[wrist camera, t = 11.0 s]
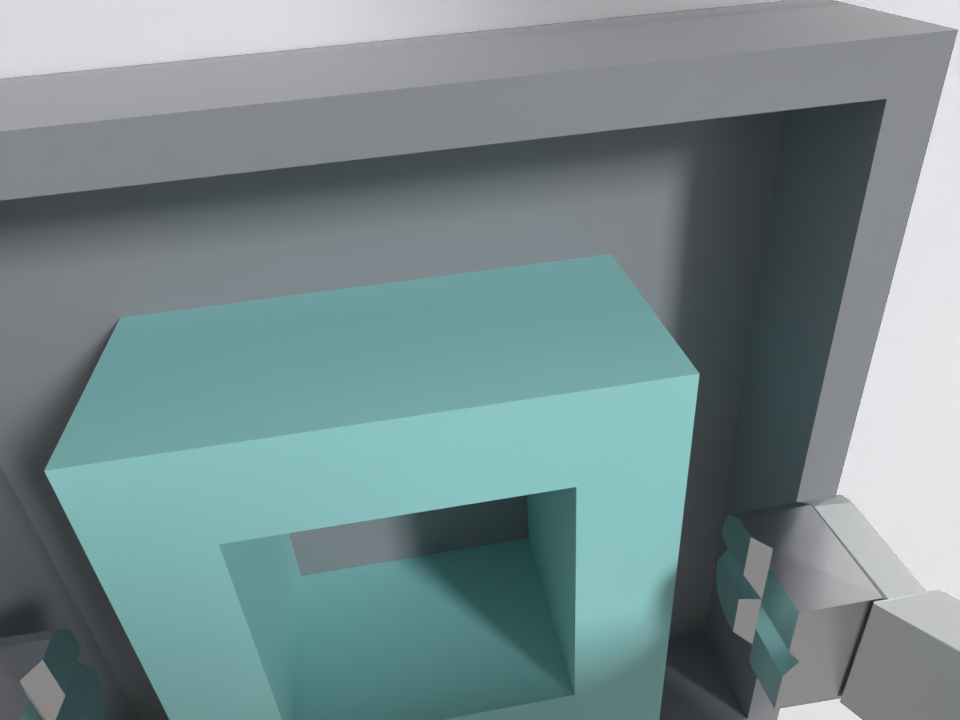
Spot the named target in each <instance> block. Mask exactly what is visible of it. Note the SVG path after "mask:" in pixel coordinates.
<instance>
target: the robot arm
mask: <svg viewBox="0 0 960 720" xmlns="http://www.w3.org/2000/svg"><path fill="white" fill-rule="evenodd" d="M721 536H722V538H723V540H724V542H725V543H726V545H727V547H728V549H727V550H726V551H725V552H724V553H723V555H722V556H721V557H720V558H719V559H718V560H717V568H716V578H715V579H716V585H717V591H718V598H719V601H720V604H721V607H722V609H723V612H724V615H725V617H726V619H727V621H728V623H729V625H730V627H731V629H732V631H733V632H734V633H736V634H737V635H739V636H740V637H742V638H743V639H745V640H746V641H748V642H750V643H751V644H752V649H751V654H750V659H749V663H750V665H751V667H752V668H753V670H754V672H755V674H756V676H757V678H758V680H759V681H760V683H761V685H762V687H763V689H764V691H765V693H766V695H767V696H768V698H769V700H770V702H771V704H772V706H773V708H774V709H779V708H785V707H791V706H797V705H803V704H809V703H815V702H821V701H827V700H833V699H839V698H841V701H840V702H841V703H842V704H843V705H845V706H846V707H847V708H848V709H850V710H851V711H852V712H854V713H855V714H856V715H857V716H859V717H860V718H861V719H862V720H960V601H959V600H957V599H956V598H954V597H952V596H950V595H948V594H946V593H944V592H942V591H940V590H935V591H928V592H927V591H926V589H925V588H924V587H923V586H922V585H921V584H920V582H919V581H918V580H917V579H916V578H915V576H914V575H913V574H912V573H911V572H910V571H909V569H908V568H907V567H906V566H905V565H904V563H903V562H902V561H901V560H900V559H899V557H898V556H897V555H896V554H895V553H894V552H893V550H892V549H891V548H890V547H889V546H888V544H887V543H886V542H885V541H884V540H883V538H882V537H881V536H880V535H879V534H878V533H877V531H876V530H875V529H874V528H873V527H872V525H871V524H870V523H869V522H868V521H867V519H866V518H865V517H864V516H863V515H862V514H861V512H860V511H859V510H858V509H857V508H856V506H855V505H854V504H853V503H852V502H851V501H850V500H849V499H847V498H846V497H844V496H842V495H837V496H831V497H826V498H820V499H814V500H808V501H803V502H794V503H789V504H783V505H778V506H772V507H767V508H761V509H756V510H751V511H745V512H740V513H734V514H729V515H728V516H727V518H726V519H725V521H724V523H723V529H722V534H721ZM80 649H81V645H80V644H79V642H78V640H77V639H76V637H75V636H74V634H73V633H72V631H71V630H70V629H58V630H51V631H44V632H37V633H30V634H23V635H16V636H9V637H3V638H0V720H105V702H106V700H105V695H104V691H103V687H102V683H101V681H100V679H99V677H98V675H97V673H96V671H95V670H94V669H92V668H90V667H88V666H86V665H84V664H82V663H80V662H78V661H77V658H78V655H79V652H80Z"/></svg>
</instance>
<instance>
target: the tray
mask: <svg viewBox="0 0 960 720" xmlns="http://www.w3.org/2000/svg"><path fill="white" fill-rule="evenodd" d="M957 31H958V30H957V29H953V28H948V27H944V26H940V25H936V24H932V23H927V22H923V21H919V20H915V19H911V18H906V17H902V16H898V15H894V14H890V13H885V12H881V11H877V10H873V9H869V8H864V7H860V6H856V5H852V4H848V3H843V2H839V1H835V0H788V1H778V2H768V3H758V4H748V5H738V6H728V7H718V8H708V9H698V10H688V11H678V12H668V13H658V14H648V15H638V16H628V17H618V18H608V19H598V20H587V21H577V22H567V23H557V24H547V25H537V26H527V27H517V28H507V29H497V30H487V31H477V32H467V33H457V34H447V35H437V36H427V37H417V38H407V39H397V40H387V41H377V42H367V43H357V44H347V45H337V46H326V47H316V48H306V49H296V50H286V51H276V52H266V53H256V54H246V55H236V56H226V57H216V58H206V59H196V60H186V61H176V62H166V63H156V64H146V65H136V66H126V67H116V68H106V69H96V70H86V71H75V72H65V73H55V74H45V75H35V76H25V77H15V78H5V79H0V638H3V637H9V636H16V635H23V634H30V633H37V632H44V631H51V630H58V629H70V630H71V631H72V633H73V634H74V636H75V637H76V639H77V640H78V642H79V644H80V645H81V649H80V652H79V655H78V658H77V661H78V662H80V663H82V664H84V665H86V666H88V667H90V668H92V669H94V670H95V671H96V673H97V675H98V677H99V679H100V681H101V683H102V687H103V691H104V695H105V700H106V702H105V720H169V718H168V716H167V714H166V712H165V710H164V708H163V706H162V704H161V702H160V700H159V698H158V696H157V694H156V692H155V690H154V688H153V686H152V684H151V682H150V680H149V678H148V676H147V674H146V672H145V670H144V668H143V666H142V664H141V662H140V660H139V658H138V656H137V654H136V652H135V650H134V648H133V646H132V644H131V642H130V640H129V638H128V636H127V634H126V632H125V630H124V628H123V626H122V625H121V623H120V621H119V619H118V617H117V615H116V613H115V611H114V609H113V607H112V605H111V603H110V601H109V599H108V597H107V595H106V593H105V591H104V589H103V587H102V585H101V583H100V581H99V579H98V577H97V575H96V573H95V571H94V569H93V567H92V565H91V563H90V561H89V559H88V557H87V555H86V553H85V551H84V549H83V547H82V545H81V543H80V541H79V539H78V537H77V535H76V533H75V531H74V529H73V527H72V525H71V523H70V521H69V519H68V517H67V515H66V513H65V511H64V509H63V507H62V505H61V503H60V501H59V499H58V497H57V495H56V493H55V491H54V489H53V487H52V485H51V483H50V481H49V480H48V478H47V476H46V474H45V472H44V470H45V468H46V466H47V464H48V462H49V460H50V458H51V456H52V454H53V452H54V450H55V448H56V446H57V444H58V442H59V440H60V438H61V436H62V434H63V432H64V430H65V428H66V426H67V424H68V422H69V420H70V418H71V416H72V414H73V412H74V410H75V408H76V406H77V404H78V402H79V400H80V398H81V396H82V394H83V392H84V389H85V387H86V385H87V383H88V381H89V379H90V377H91V375H92V373H93V371H94V369H95V367H96V365H97V363H98V361H99V359H100V357H101V355H102V353H103V351H104V349H105V347H106V345H107V343H108V341H109V339H110V337H111V335H112V333H113V331H114V329H115V327H116V325H117V323H118V321H119V319H120V318H122V317H130V316H137V315H145V314H153V313H161V312H168V311H176V310H184V309H191V308H199V307H207V306H214V305H222V304H230V303H238V302H245V301H253V300H261V299H268V298H276V297H284V296H291V295H299V294H307V293H315V292H322V291H330V290H338V289H345V288H353V287H361V286H368V285H376V284H384V283H392V282H399V281H407V280H415V279H422V278H430V277H438V276H445V275H453V274H461V273H469V272H476V271H484V270H492V269H499V268H507V267H515V266H522V265H530V264H538V263H546V262H553V261H561V260H569V259H576V258H584V257H592V256H600V255H607V254H612V256H613V257H614V259H615V260H616V261H617V263H618V264H619V265H620V267H621V268H622V269H623V271H624V272H625V273H626V275H627V276H628V277H629V279H630V280H631V282H632V283H633V284H634V286H635V287H636V288H637V290H638V291H639V292H640V294H641V295H642V296H643V298H644V299H645V301H646V302H647V303H648V305H649V306H650V307H651V309H652V310H653V311H654V313H655V314H656V315H657V317H658V318H659V319H660V321H661V322H662V324H663V325H664V326H665V328H666V329H667V330H668V332H669V333H670V334H671V336H672V337H673V338H674V340H675V341H676V343H677V344H678V345H679V347H680V348H681V349H682V351H683V352H684V353H685V355H686V356H687V357H688V359H689V360H690V361H691V363H692V364H693V366H694V367H695V368H696V370H697V371H698V372H699V383H698V392H697V400H696V409H695V417H694V426H693V435H692V443H691V452H690V460H689V469H688V478H687V486H686V495H685V503H684V512H683V521H682V529H681V538H680V546H679V555H678V564H677V572H676V581H675V589H674V598H673V607H672V615H671V624H670V632H669V641H668V650H667V658H666V667H665V675H664V684H663V693H662V701H661V710H660V718H659V720H777V718H778V714H779V710H780V708H779V709H774V708H773V706H772V704H771V702H770V700H769V698H768V696H767V695H766V693H765V691H764V689H763V687H762V685H761V683H760V681H759V680H758V678H757V676H756V674H755V672H754V670H753V668H752V667H751V665H750V663H749V659H750V654H751V649H752V644H751V643H750V642H748V641H746V640H745V639H743V638H742V637H740V636H739V635H737V634H736V633H734V632H733V631H732V629H731V627H730V625H729V623H728V621H727V619H726V617H725V615H724V612H723V609H722V607H721V604H720V601H719V598H718V591H717V585H716V579H715V578H716V568H717V560H718V559H719V558H720V557H721V556H722V555H723V553H724V552H725V551H726V550H727V549H728V547H727V545H726V543H725V542H724V540H723V538H722V536H721V534H722V529H723V523H724V521H725V519H726V518H727V516H728V515H729V514H734V513H740V512H745V511H751V510H756V509H761V508H767V507H772V506H778V505H783V504H789V503H794V502H803V501H808V500H814V499H820V498H826V497H831V496H836V493H837V489H838V485H839V481H840V477H841V474H842V470H843V466H844V462H845V458H846V454H847V451H848V447H849V443H850V439H851V435H852V432H853V428H854V424H855V420H856V416H857V412H858V409H859V405H860V401H861V397H862V393H863V390H864V386H865V382H866V378H867V374H868V371H869V367H870V363H871V359H872V355H873V351H874V348H875V344H876V340H877V336H878V332H879V329H880V325H881V321H882V317H883V313H884V309H885V306H886V302H887V298H888V294H889V290H890V287H891V283H892V279H893V275H894V271H895V268H896V264H897V260H898V256H899V252H900V248H901V245H902V241H903V237H904V233H905V229H906V226H907V222H908V218H909V214H910V210H911V206H912V203H913V199H914V195H915V191H916V187H917V184H918V180H919V176H920V172H921V168H922V164H923V161H924V157H925V153H926V149H927V145H928V142H929V138H930V134H931V130H932V126H933V123H934V119H935V115H936V111H937V107H938V103H939V100H940V96H941V92H942V88H943V84H944V81H945V77H946V73H947V69H948V65H949V61H950V58H951V54H952V50H953V46H954V42H955V39H956V35H957ZM289 536H290V539H291V543H292V546H293V550H294V553H295V557H296V560H297V564H298V567H299V571H300V574H301V576H305V575H311V574H317V573H323V572H329V571H335V570H341V569H347V568H353V567H359V566H365V565H371V564H377V563H383V562H389V561H395V560H401V559H407V558H413V557H419V556H425V555H431V554H437V553H443V552H449V551H455V550H461V549H467V548H473V547H479V546H485V545H491V544H497V543H503V542H509V541H515V540H521V539H527V538H529V531H528V506H527V495H523V496H517V497H511V498H505V499H498V500H492V501H486V502H480V503H474V504H467V505H461V506H455V507H449V508H443V509H436V510H430V511H424V512H418V513H411V514H405V515H399V516H393V517H387V518H380V519H374V520H368V521H362V522H356V523H349V524H343V525H337V526H331V527H325V528H318V529H312V530H306V531H300V532H293V533H289Z"/></svg>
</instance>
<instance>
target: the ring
mask: <svg viewBox="0 0 960 720" xmlns="http://www.w3.org/2000/svg"><path fill="white" fill-rule="evenodd" d="M698 383H699V372H698V371H697V370H696V368H695V367H694V366H693V364H692V363H691V361H690V360H689V359H688V357H687V356H686V355H685V353H684V352H683V351H682V349H681V348H680V347H679V345H678V344H677V343H676V341H675V340H674V338H673V337H672V336H671V334H670V333H669V332H668V330H667V329H666V328H665V326H664V325H663V324H662V322H661V321H660V319H659V318H658V317H657V315H656V314H655V313H654V311H653V310H652V309H651V307H650V306H649V305H648V303H647V302H646V301H645V299H644V298H643V296H642V295H641V294H640V292H639V291H638V290H637V288H636V287H635V286H634V284H633V283H632V282H631V280H630V279H629V277H628V276H627V275H626V273H625V272H624V271H623V269H622V268H621V267H620V265H619V264H618V263H617V261H616V260H615V259H614V257H613V256H612V254H607V255H600V256H592V257H584V258H576V259H569V260H561V261H553V262H546V263H538V264H530V265H522V266H515V267H507V268H499V269H492V270H484V271H476V272H469V273H461V274H453V275H445V276H438V277H430V278H422V279H415V280H407V281H399V282H392V283H384V284H376V285H368V286H361V287H353V288H345V289H338V290H330V291H322V292H315V293H307V294H299V295H291V296H284V297H276V298H268V299H261V300H253V301H245V302H238V303H230V304H222V305H214V306H207V307H199V308H191V309H184V310H176V311H168V312H161V313H153V314H145V315H137V316H130V317H122V318H120V319H119V321H118V323H117V325H116V327H115V329H114V331H113V333H112V335H111V337H110V339H109V341H108V343H107V345H106V347H105V349H104V351H103V353H102V355H101V357H100V359H99V361H98V363H97V365H96V367H95V369H94V371H93V373H92V375H91V377H90V379H89V381H88V383H87V385H86V387H85V389H84V392H83V394H82V396H81V398H80V400H79V402H78V404H77V406H76V408H75V410H74V412H73V414H72V416H71V418H70V420H69V422H68V424H67V426H66V428H65V430H64V432H63V434H62V436H61V438H60V440H59V442H58V444H57V446H56V448H55V450H54V452H53V454H52V456H51V458H50V460H49V462H48V464H47V466H46V468H45V470H44V472H45V474H46V476H47V478H48V480H49V481H50V483H51V485H52V487H53V489H54V491H55V493H56V495H57V497H58V499H59V501H60V503H61V505H62V507H63V509H64V511H65V513H66V515H67V517H68V519H69V521H70V523H71V525H72V527H73V529H74V531H75V533H76V535H77V537H78V539H79V541H80V543H81V545H82V547H83V549H84V551H85V553H86V555H87V557H88V559H89V561H90V563H91V565H92V567H93V569H94V571H95V573H96V575H97V577H98V579H99V581H100V583H101V585H102V587H103V589H104V591H105V593H106V595H107V597H108V599H109V601H110V603H111V605H112V607H113V609H114V611H115V613H116V615H117V617H118V619H119V621H120V623H121V625H122V626H123V628H124V630H125V632H126V634H127V636H128V638H129V640H130V642H131V644H132V646H133V648H134V650H135V652H136V654H137V656H138V658H139V660H140V662H141V664H142V666H143V668H144V670H145V672H146V674H147V676H148V678H149V680H150V682H151V684H152V686H153V688H154V690H155V692H156V694H157V696H158V698H159V700H160V702H161V704H162V706H163V708H164V710H165V712H166V714H167V716H168V718H169V720H659V718H660V710H661V701H662V693H663V684H664V675H665V667H666V658H667V650H668V641H669V632H670V624H671V615H672V607H673V598H674V589H675V581H676V572H677V564H678V555H679V546H680V538H681V529H682V521H683V512H684V503H685V495H686V486H687V478H688V469H689V460H690V452H691V443H692V435H693V426H694V417H695V409H696V400H697V392H698ZM523 495H527V506H528V531H529V538H527V539H521V540H515V541H509V542H503V543H497V544H491V545H485V546H479V547H473V548H467V549H461V550H455V551H449V552H443V553H437V554H431V555H425V556H419V557H413V558H407V559H401V560H395V561H389V562H383V563H377V564H371V565H365V566H359V567H353V568H347V569H341V570H335V571H329V572H323V573H317V574H311V575H305V576H301V574H300V571H299V567H298V564H297V560H296V557H295V553H294V550H293V546H292V543H291V539H290V536H289V533H293V532H300V531H306V530H312V529H318V528H325V527H331V526H337V525H343V524H349V523H356V522H362V521H368V520H374V519H380V518H387V517H393V516H399V515H405V514H411V513H418V512H424V511H430V510H436V509H443V508H449V507H455V506H461V505H467V504H474V503H480V502H486V501H492V500H498V499H505V498H511V497H517V496H523Z"/></svg>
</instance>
